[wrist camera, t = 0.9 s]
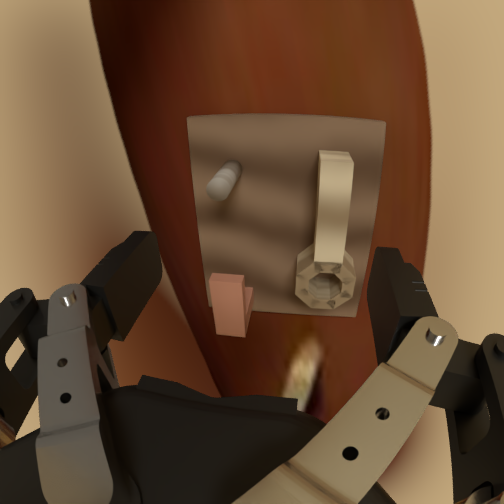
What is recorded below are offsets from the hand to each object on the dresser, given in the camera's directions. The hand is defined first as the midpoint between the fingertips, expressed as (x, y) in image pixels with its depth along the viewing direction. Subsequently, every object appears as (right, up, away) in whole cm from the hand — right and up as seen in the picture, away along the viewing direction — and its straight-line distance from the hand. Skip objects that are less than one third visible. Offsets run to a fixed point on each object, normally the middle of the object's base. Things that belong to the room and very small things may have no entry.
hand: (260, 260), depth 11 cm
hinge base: (+3, +3, +21) cm, 21 cm away
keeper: (-2, -2, +24) cm, 24 cm away
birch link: (+7, +3, +19) cm, 20 cm away
